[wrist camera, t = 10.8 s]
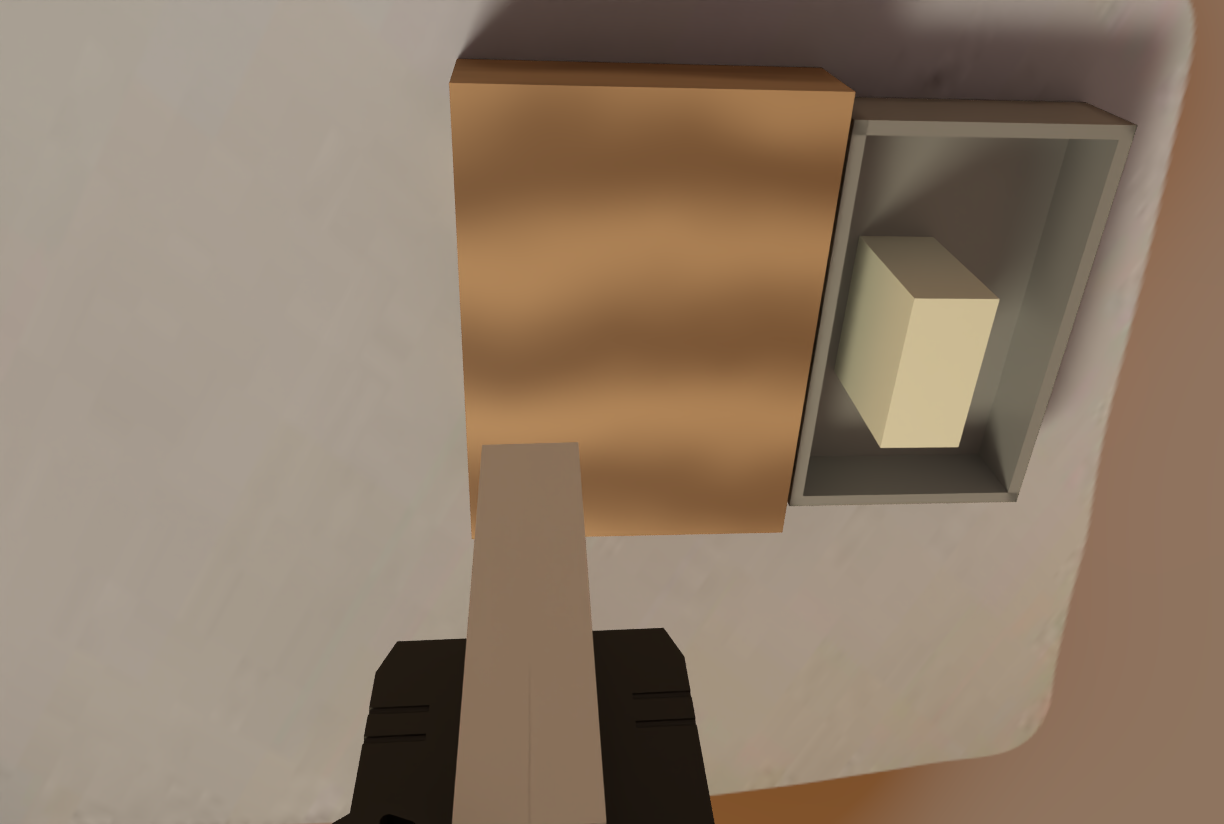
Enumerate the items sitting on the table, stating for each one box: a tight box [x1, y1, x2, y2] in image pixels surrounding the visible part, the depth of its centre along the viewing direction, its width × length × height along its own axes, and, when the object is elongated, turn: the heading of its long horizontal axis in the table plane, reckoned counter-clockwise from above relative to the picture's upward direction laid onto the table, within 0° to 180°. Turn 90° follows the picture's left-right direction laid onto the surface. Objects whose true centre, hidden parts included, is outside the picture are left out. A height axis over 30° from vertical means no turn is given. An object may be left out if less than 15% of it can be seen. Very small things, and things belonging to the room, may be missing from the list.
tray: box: [788, 97, 1137, 506], centre depth 37 cm, size 16×10×4 cm, turn 178°
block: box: [834, 236, 1000, 448], centre depth 36 cm, size 6×6×3 cm
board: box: [449, 59, 855, 539], centre depth 36 cm, size 18×13×4 cm
